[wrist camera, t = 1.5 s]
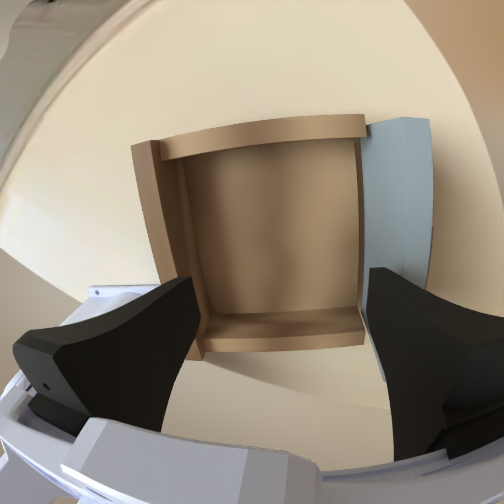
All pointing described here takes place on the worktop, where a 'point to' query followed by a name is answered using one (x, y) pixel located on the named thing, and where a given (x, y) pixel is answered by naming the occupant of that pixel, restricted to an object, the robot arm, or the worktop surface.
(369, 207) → the panel
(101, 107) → the worktop surface
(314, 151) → the brown open rectangular box
